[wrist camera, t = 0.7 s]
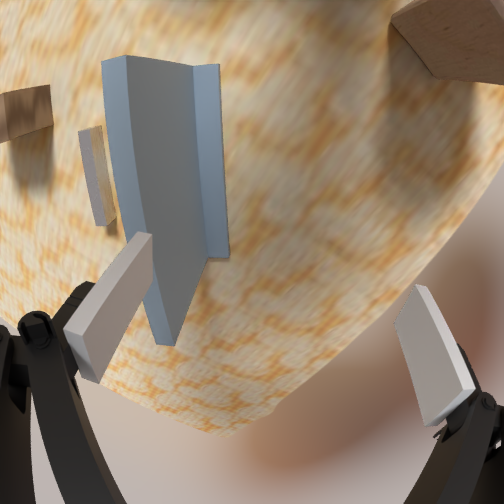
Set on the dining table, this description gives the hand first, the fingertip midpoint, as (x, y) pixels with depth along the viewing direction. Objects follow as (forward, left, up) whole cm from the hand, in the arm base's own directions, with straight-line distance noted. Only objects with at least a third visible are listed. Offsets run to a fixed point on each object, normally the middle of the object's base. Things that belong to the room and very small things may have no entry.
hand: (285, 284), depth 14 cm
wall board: (+1, -10, -26) cm, 28 cm away
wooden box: (-11, -38, -26) cm, 48 cm away
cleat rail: (+1, -25, -26) cm, 36 cm away
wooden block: (-19, +20, -26) cm, 38 cm away
